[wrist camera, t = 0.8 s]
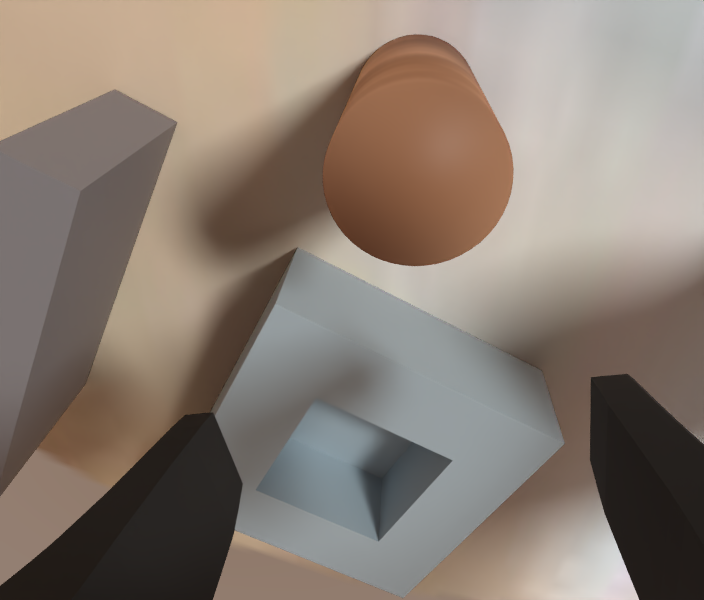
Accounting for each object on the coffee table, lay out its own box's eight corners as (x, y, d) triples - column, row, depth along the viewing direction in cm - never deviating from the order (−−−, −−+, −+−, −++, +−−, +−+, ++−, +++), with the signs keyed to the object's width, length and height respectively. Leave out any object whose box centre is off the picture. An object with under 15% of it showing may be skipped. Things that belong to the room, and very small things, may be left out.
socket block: (540, 365, 21) (564, 443, 18) (404, 514, 26) (403, 598, 23) (299, 243, 20) (275, 303, 16) (201, 427, 25) (167, 503, 21)
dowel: (501, 74, 16) (554, 145, 10) (434, 180, 18) (445, 293, 12) (391, 9, 15) (379, 43, 9) (333, 124, 17) (292, 214, 11)
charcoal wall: (177, 122, 18) (80, 190, 12) (85, 384, 23) (-7, 504, 18) (114, 89, 17) (-12, 146, 12) (37, 364, 23) (-70, 480, 18)
